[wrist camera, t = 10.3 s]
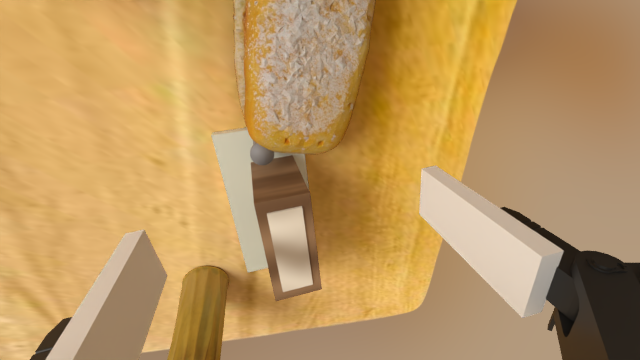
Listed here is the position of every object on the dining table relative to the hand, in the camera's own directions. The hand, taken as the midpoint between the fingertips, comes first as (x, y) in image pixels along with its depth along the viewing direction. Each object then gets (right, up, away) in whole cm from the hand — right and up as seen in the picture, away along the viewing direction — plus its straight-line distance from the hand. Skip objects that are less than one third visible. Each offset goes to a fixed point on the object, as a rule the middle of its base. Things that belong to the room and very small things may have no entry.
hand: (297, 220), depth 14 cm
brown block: (-4, -1, +23) cm, 23 cm away
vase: (-15, -12, +27) cm, 33 cm away
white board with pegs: (-5, -1, +24) cm, 24 cm away
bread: (-1, +19, +16) cm, 25 cm away
